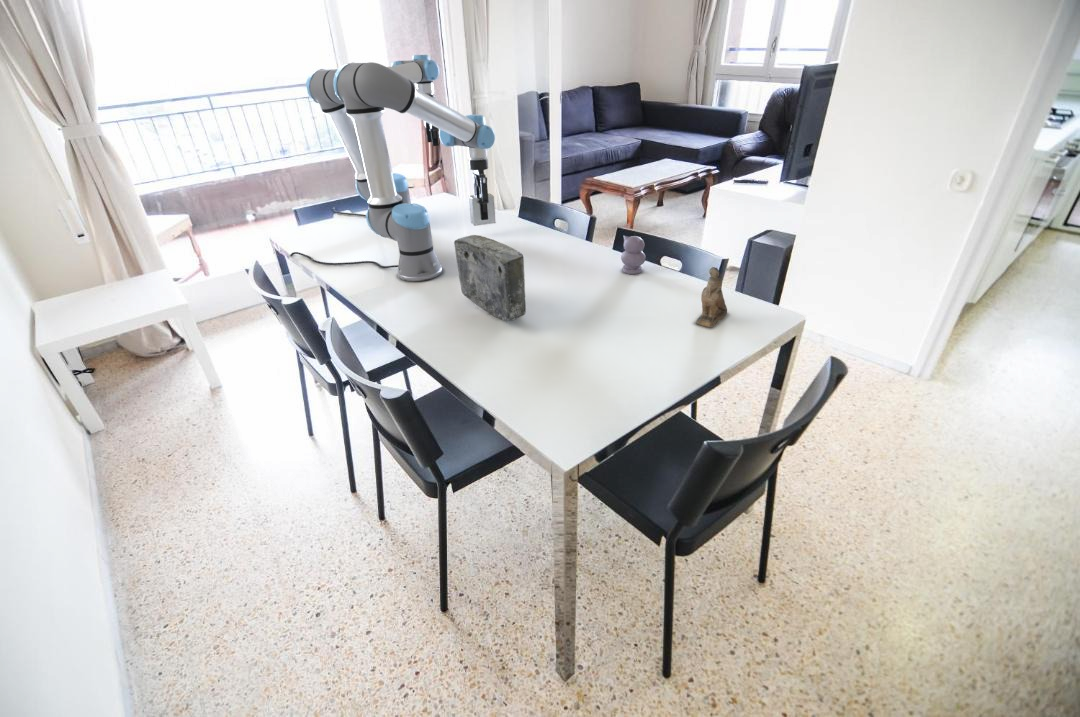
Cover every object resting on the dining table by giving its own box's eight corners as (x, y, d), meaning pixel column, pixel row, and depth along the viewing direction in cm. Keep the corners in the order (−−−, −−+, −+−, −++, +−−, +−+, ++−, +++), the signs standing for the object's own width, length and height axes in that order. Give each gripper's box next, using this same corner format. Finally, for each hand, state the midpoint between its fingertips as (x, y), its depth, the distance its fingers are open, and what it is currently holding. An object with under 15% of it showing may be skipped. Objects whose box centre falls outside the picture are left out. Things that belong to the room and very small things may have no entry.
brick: (474, 225, 204) (471, 198, 198) (471, 222, 209) (468, 195, 203) (495, 223, 207) (493, 196, 201) (491, 219, 211) (490, 193, 206)
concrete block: (533, 322, 141) (530, 255, 130) (507, 332, 136) (501, 263, 126) (485, 293, 159) (479, 232, 149) (460, 300, 155) (452, 238, 145)
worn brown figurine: (709, 335, 136) (713, 280, 124) (691, 329, 139) (693, 274, 128) (730, 313, 142) (736, 258, 130) (712, 307, 145) (716, 253, 133)
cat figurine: (649, 270, 171) (652, 236, 165) (636, 276, 167) (638, 242, 160) (628, 264, 176) (630, 231, 170) (615, 271, 172) (617, 237, 165)
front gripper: (494, 161, 188) (498, 222, 200) (481, 154, 203) (485, 211, 215) (474, 162, 186) (480, 224, 198) (463, 155, 201) (468, 213, 213)
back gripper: (439, 94, 219) (446, 146, 230) (429, 92, 239) (435, 140, 250) (422, 96, 216) (430, 148, 228) (413, 93, 236) (420, 141, 248)
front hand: (482, 217), depth 207 cm, fingers closed on brick, 5 cm apart
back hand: (433, 144), depth 239 cm, fingers open, 13 cm apart
